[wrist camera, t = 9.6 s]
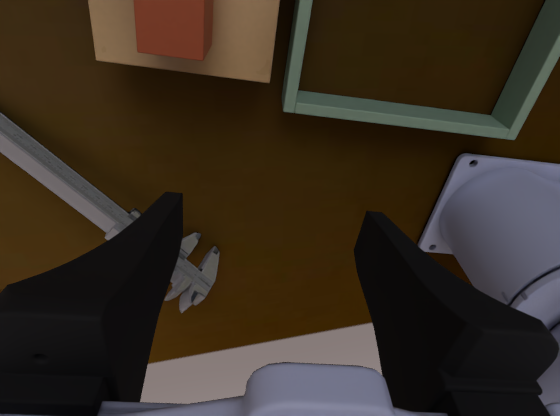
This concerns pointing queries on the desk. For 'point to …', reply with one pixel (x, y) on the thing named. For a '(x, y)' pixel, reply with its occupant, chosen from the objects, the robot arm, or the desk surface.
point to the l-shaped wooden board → (222, 54)
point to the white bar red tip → (174, 27)
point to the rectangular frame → (501, 124)
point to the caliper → (103, 209)
